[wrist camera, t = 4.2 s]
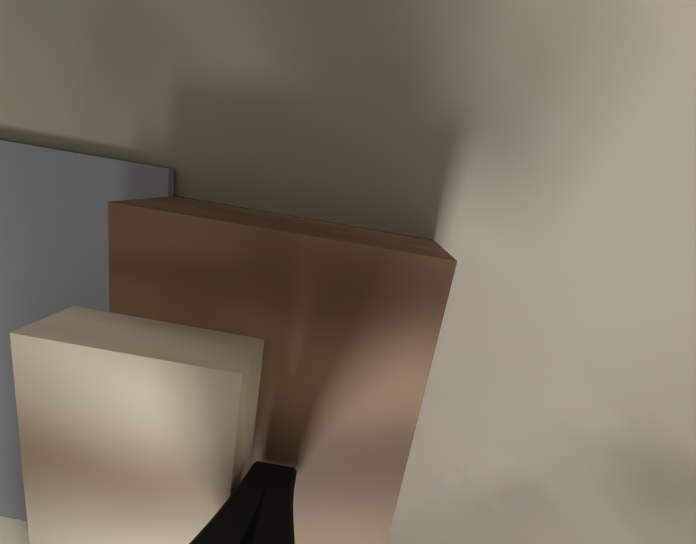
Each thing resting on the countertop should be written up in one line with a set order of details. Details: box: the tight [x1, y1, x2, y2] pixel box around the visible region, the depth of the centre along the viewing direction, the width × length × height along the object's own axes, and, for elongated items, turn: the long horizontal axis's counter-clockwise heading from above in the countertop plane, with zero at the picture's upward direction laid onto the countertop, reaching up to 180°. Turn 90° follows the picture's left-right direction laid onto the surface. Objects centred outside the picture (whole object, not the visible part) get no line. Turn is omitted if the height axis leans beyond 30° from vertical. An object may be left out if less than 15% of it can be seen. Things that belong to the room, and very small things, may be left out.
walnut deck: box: [108, 196, 457, 544], centre depth 14 cm, size 16×10×4 cm, turn 171°
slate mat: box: [0, 140, 175, 521], centre depth 15 cm, size 18×12×1 cm, turn 171°
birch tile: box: [10, 306, 265, 544], centre depth 11 cm, size 9×6×2 cm, turn 171°
